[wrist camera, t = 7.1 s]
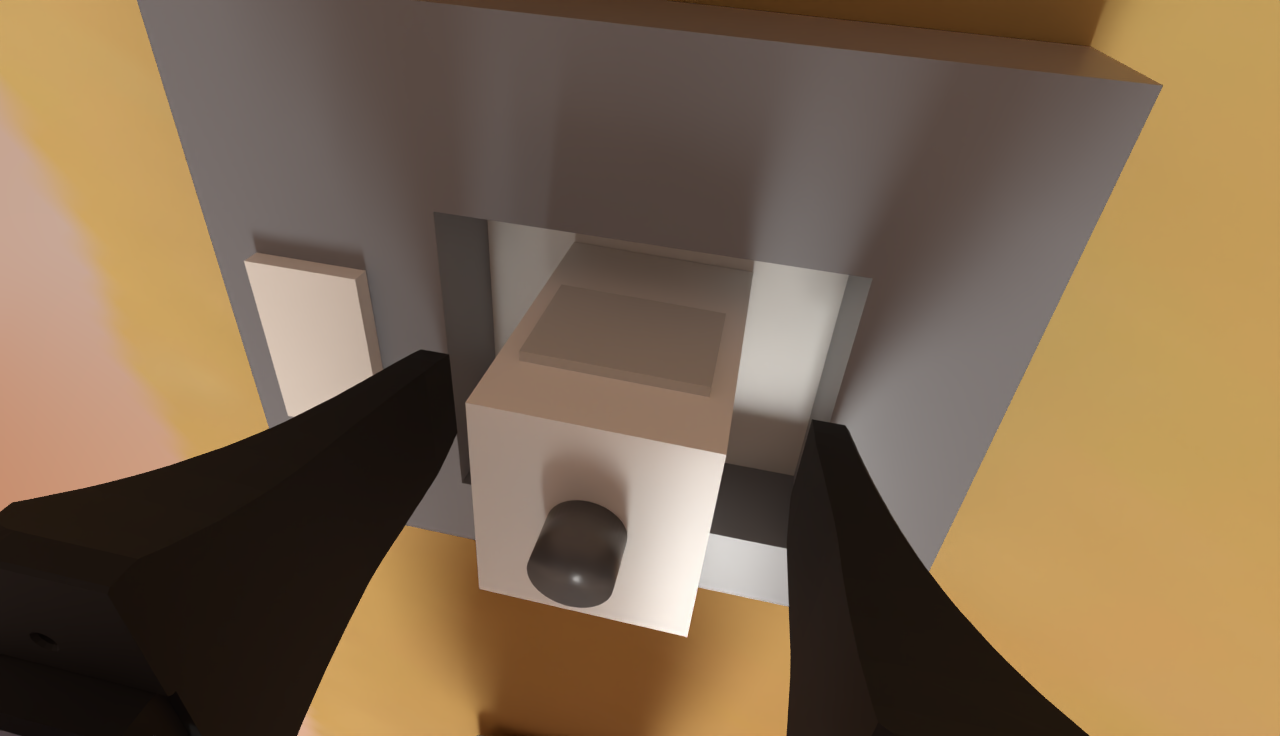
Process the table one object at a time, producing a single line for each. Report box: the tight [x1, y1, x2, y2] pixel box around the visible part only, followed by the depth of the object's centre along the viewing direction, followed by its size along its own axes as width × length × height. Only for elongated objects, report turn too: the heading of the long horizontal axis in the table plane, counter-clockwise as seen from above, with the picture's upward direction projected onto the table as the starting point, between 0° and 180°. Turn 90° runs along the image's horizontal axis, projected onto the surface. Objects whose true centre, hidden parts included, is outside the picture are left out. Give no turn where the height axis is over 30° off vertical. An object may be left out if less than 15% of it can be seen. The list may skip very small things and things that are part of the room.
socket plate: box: [137, 0, 1163, 606], centre depth 15 cm, size 12×16×3 cm
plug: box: [465, 242, 753, 637], centre depth 14 cm, size 5×4×7 cm
